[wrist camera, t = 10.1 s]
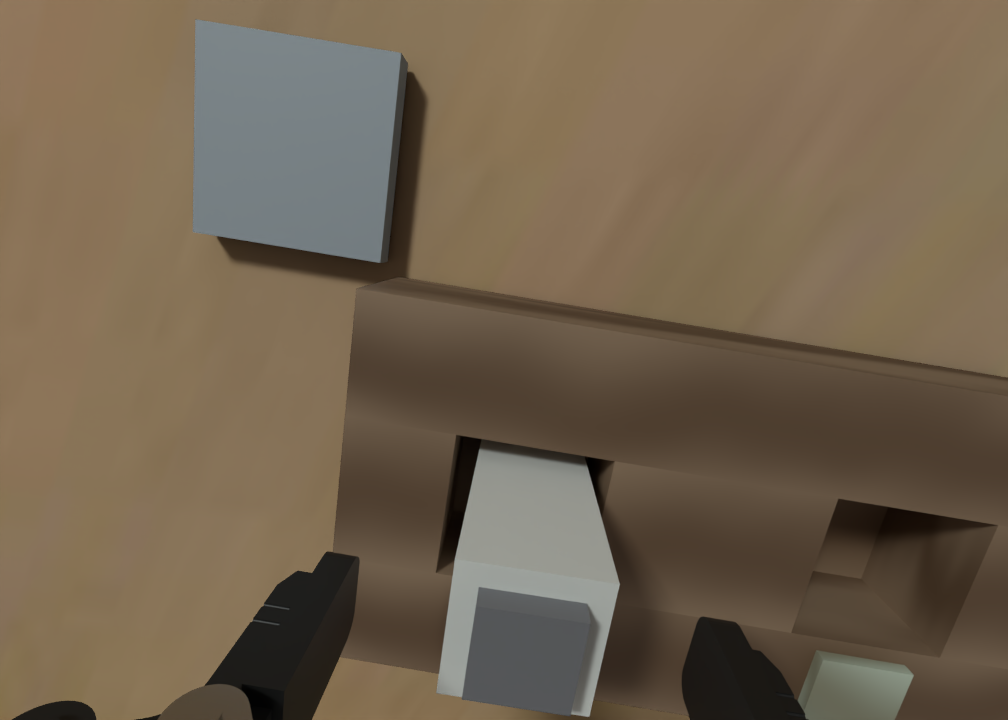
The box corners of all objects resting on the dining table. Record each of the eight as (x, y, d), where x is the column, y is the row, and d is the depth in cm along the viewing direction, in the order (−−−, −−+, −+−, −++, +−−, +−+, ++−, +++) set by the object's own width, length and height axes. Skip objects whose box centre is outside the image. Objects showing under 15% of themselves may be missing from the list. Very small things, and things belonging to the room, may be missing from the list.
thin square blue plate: (213, 31, 18) (195, 19, 17) (408, 63, 18) (401, 52, 17) (209, 232, 19) (193, 231, 18) (387, 261, 19) (380, 262, 18)
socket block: (399, 276, 19) (351, 289, 14) (1009, 378, 19) (1189, 428, 14) (367, 565, 22) (319, 663, 17) (894, 653, 22) (1007, 779, 17)
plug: (486, 417, 20) (450, 576, 10) (577, 430, 20) (625, 604, 10) (474, 499, 20) (431, 717, 11) (562, 512, 20) (592, 742, 11)
